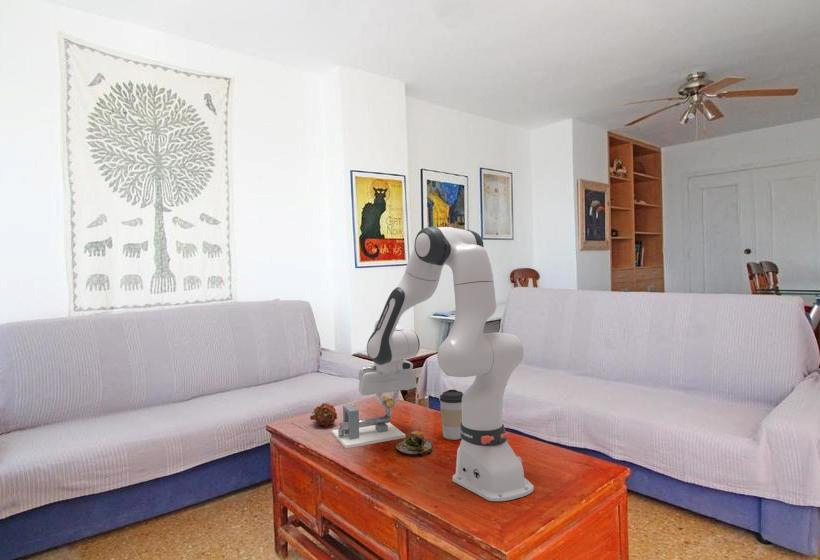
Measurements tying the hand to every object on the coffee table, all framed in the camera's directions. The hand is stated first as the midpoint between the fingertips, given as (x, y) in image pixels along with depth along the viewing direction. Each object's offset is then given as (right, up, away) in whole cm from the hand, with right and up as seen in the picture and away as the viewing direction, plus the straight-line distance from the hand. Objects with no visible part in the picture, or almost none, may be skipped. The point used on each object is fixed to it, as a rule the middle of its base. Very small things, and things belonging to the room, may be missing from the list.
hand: (387, 404), depth 171 cm
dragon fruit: (-24, -10, +9) cm, 27 cm away
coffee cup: (+22, -10, -5) cm, 25 cm away
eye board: (-7, -10, -3) cm, 12 cm away
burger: (+9, -11, -16) cm, 22 cm away
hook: (-7, -8, -3) cm, 12 cm away
